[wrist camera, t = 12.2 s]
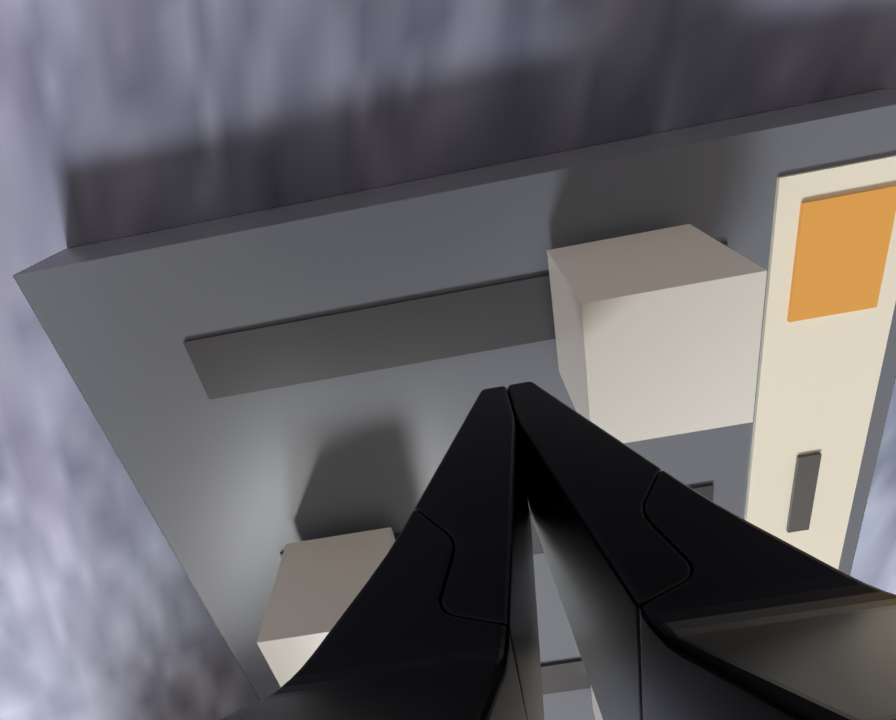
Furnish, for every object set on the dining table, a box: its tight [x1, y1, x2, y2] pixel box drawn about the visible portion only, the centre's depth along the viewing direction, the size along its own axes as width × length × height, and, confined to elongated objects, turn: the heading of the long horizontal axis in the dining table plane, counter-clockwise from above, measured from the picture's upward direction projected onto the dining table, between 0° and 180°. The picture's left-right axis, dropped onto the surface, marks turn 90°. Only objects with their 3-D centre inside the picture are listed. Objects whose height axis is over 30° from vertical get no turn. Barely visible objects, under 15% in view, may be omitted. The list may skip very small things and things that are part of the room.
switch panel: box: [13, 88, 896, 720], centre depth 17 cm, size 20×20×2 cm
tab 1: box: [257, 527, 395, 687], centre depth 15 cm, size 3×3×3 cm
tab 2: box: [547, 224, 767, 443], centre depth 11 cm, size 3×3×3 cm
